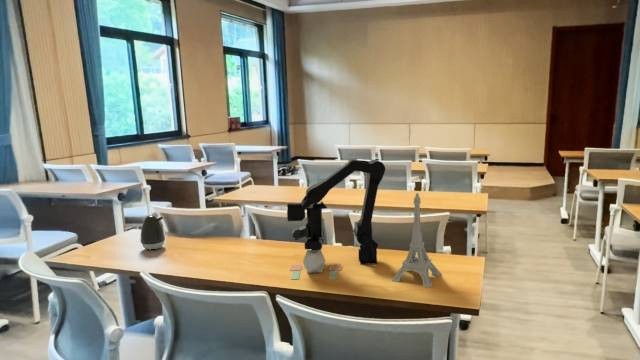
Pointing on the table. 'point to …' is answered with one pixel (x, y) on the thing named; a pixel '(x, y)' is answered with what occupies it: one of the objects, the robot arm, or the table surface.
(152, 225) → the pump dispenser
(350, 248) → the table surface
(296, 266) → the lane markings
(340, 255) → the table surface
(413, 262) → the eiffel tower
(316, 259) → the die
